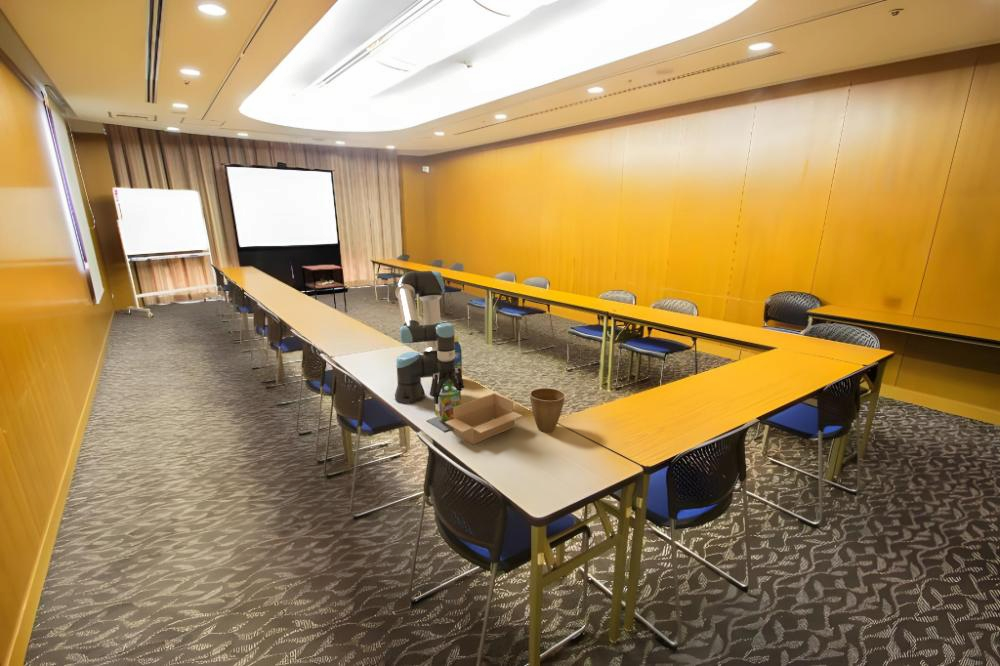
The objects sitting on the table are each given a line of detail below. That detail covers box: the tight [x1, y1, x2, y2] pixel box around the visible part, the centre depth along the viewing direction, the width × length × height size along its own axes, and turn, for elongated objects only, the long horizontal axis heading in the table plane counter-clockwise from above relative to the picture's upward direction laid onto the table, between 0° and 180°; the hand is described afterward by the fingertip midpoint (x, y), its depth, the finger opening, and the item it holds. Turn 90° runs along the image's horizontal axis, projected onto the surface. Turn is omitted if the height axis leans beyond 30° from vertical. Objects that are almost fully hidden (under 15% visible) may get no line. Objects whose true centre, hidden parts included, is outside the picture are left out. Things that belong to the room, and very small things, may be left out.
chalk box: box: [434, 383, 462, 421], centre depth 194 cm, size 9×9×15 cm
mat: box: [426, 415, 454, 433], centre depth 196 cm, size 14×14×1 cm
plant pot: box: [529, 387, 566, 433], centre depth 188 cm, size 15×15×16 cm
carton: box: [445, 392, 523, 445], centre depth 184 cm, size 18×28×12 cm, turn 132°
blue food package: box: [439, 336, 463, 385], centre depth 244 cm, size 6×12×25 cm, turn 134°
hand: (447, 406), depth 194 cm, fingers closed on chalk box, 10 cm apart
